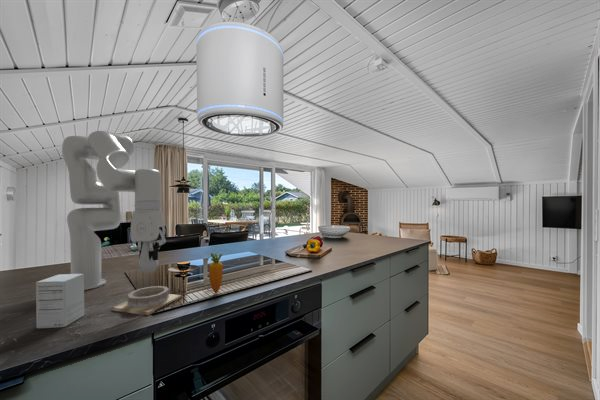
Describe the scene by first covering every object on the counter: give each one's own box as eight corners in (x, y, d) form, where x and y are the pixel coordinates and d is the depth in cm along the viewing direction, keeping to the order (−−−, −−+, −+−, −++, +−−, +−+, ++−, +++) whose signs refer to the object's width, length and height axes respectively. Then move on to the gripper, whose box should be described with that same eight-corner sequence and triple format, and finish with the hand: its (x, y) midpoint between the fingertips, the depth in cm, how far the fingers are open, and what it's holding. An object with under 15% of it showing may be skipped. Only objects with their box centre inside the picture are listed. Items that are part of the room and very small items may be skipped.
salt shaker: (149, 274, 81) (148, 233, 81) (133, 273, 82) (133, 233, 82) (162, 269, 87) (162, 231, 87) (148, 268, 88) (147, 231, 88)
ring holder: (112, 310, 79) (112, 297, 79) (149, 294, 93) (149, 283, 93) (147, 315, 76) (147, 301, 76) (181, 298, 89) (181, 286, 89)
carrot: (225, 291, 95) (225, 251, 95) (217, 296, 90) (217, 254, 90) (214, 290, 96) (214, 250, 97) (205, 295, 92) (205, 253, 92)
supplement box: (58, 316, 75) (58, 273, 76) (85, 315, 76) (85, 273, 76) (34, 329, 68) (34, 281, 68) (64, 327, 69) (64, 280, 69)
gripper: (118, 207, 83) (118, 263, 83) (159, 206, 79) (159, 266, 78) (138, 206, 90) (139, 258, 90) (177, 206, 86) (177, 260, 86)
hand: (148, 261), depth 84 cm, fingers closed on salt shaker, 3 cm apart
